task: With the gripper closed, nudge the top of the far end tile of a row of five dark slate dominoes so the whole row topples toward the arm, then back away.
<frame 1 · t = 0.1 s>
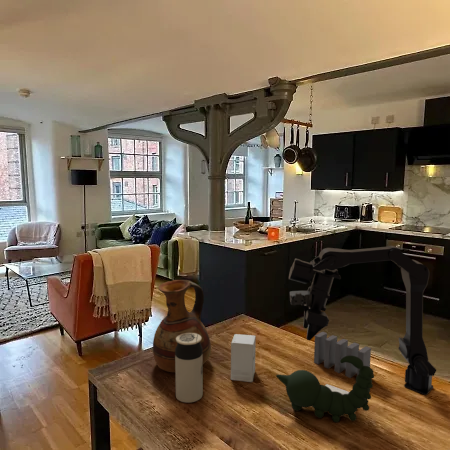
hand: (306, 333, 114), 15 cm above the table, tool pointing down, fingers open, 9 cm apart
supplement box: (243, 376, 118), on the table
ceramic pitcher: (182, 364, 126), on the table
tile 5: (363, 379, 116), on the table
travel mug: (189, 396, 107), on the table
tile 3: (340, 369, 122), on the table
tile 4: (351, 374, 119), on the table
tile 2: (330, 365, 125), on the table
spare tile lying: (339, 399, 106), on the table
toy figurine: (321, 414, 99), on the table
tile 1: (320, 361, 128), on the table
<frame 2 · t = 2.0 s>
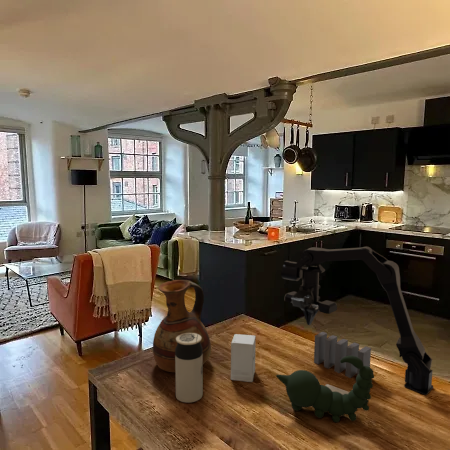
hand: (309, 324, 130), 12 cm above the table, tool pointing down, fingers closed
nothing on the table moved.
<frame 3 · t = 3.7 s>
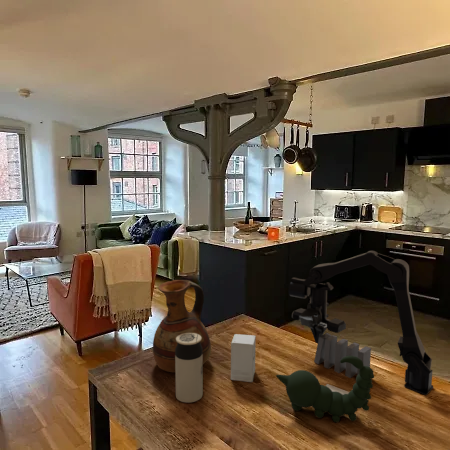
hand: (317, 342, 128), 6 cm above the table, tool pointing down, fingers closed
tile 1: (320, 360, 128), on the table, tilted 10°
everything else where it was.
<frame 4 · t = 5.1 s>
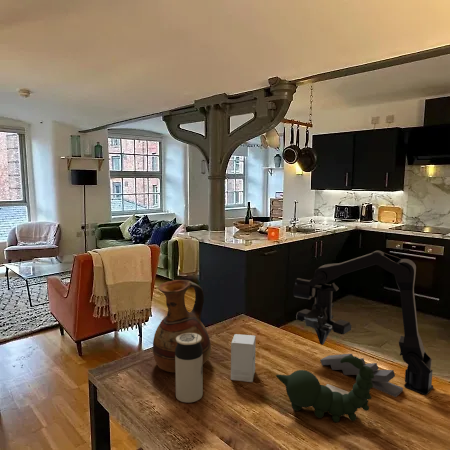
hand: (321, 344, 127), 6 cm above the table, tool pointing down, fingers closed
tile 5: (367, 380, 116), on the table, tilted 90°, touching tile 4
tile 3: (347, 369, 121), point 1 cm above the table, tilted 66°, touching tile 2, tile 4
tile 4: (361, 374, 117), point 1 cm above the table, tilted 70°, touching tile 3, tile 5
tile 2: (335, 364, 124), point 1 cm above the table, tilted 65°, touching tile 1, tile 3
tile 1: (325, 360, 127), point 1 cm above the table, tilted 65°, touching tile 2
everything else where it was.
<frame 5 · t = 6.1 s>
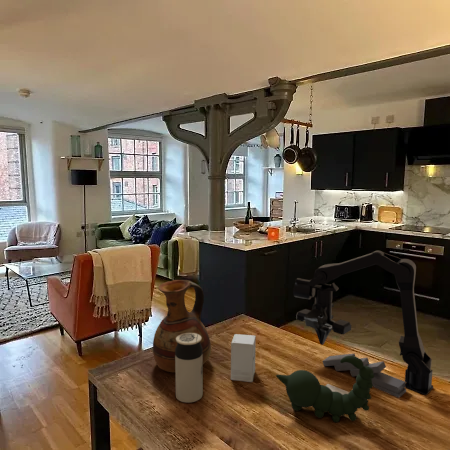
hand: (321, 344, 127), 6 cm above the table, tool pointing down, fingers closed
tile 3: (354, 371, 119), point 1 cm above the table, tilted 61°
tile 4: (369, 374, 116), point 2 cm above the table, tilted 90°, touching tile 5
tile 2: (338, 365, 123), point 1 cm above the table, tilted 66°, touching tile 1
tile 1: (326, 361, 126), point 1 cm above the table, tilted 65°, touching tile 2
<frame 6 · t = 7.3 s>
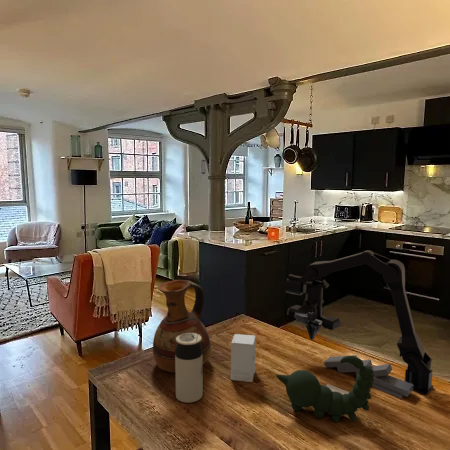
hand: (312, 339, 130), 7 cm above the table, tool pointing down, fingers closed
tile 3: (359, 373, 118), point 1 cm above the table, tilted 64°, touching tile 2
tile 4: (376, 377, 114), point 2 cm above the table, tilted 90°, touching tile 5
tile 2: (340, 366, 122), point 1 cm above the table, tilted 69°, touching tile 1, tile 3
tile 1: (327, 362, 126), point 1 cm above the table, tilted 69°, touching tile 2
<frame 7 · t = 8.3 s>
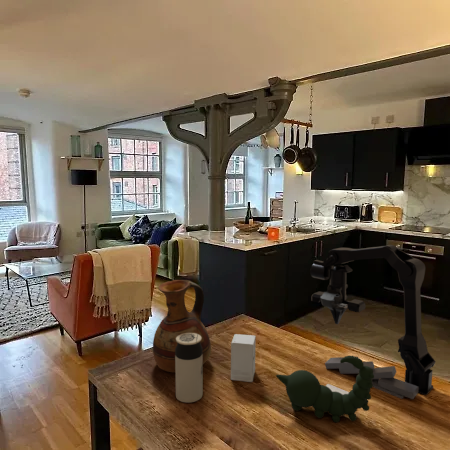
hand: (336, 323, 132), 12 cm above the table, tool pointing down, fingers closed
tile 3: (362, 374, 117), point 1 cm above the table, tilted 68°, touching tile 2, tile 4
tile 4: (381, 380, 113), point 2 cm above the table, tilted 90°, touching tile 3, tile 5
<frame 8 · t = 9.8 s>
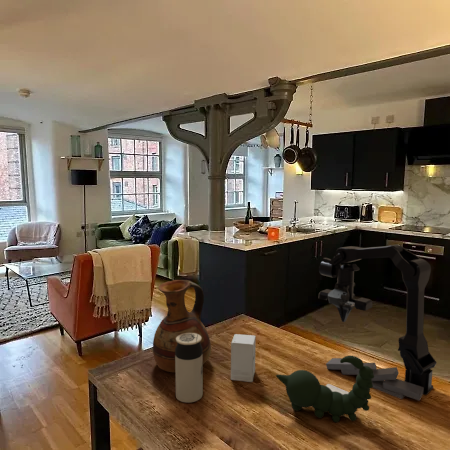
hand: (343, 321, 133), 12 cm above the table, tool pointing down, fingers closed
tile 4: (385, 382, 111), point 2 cm above the table, tilted 90°, touching tile 3, tile 5
at the end: tile 5 tilted 90°; tile 1 tilted 72° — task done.
